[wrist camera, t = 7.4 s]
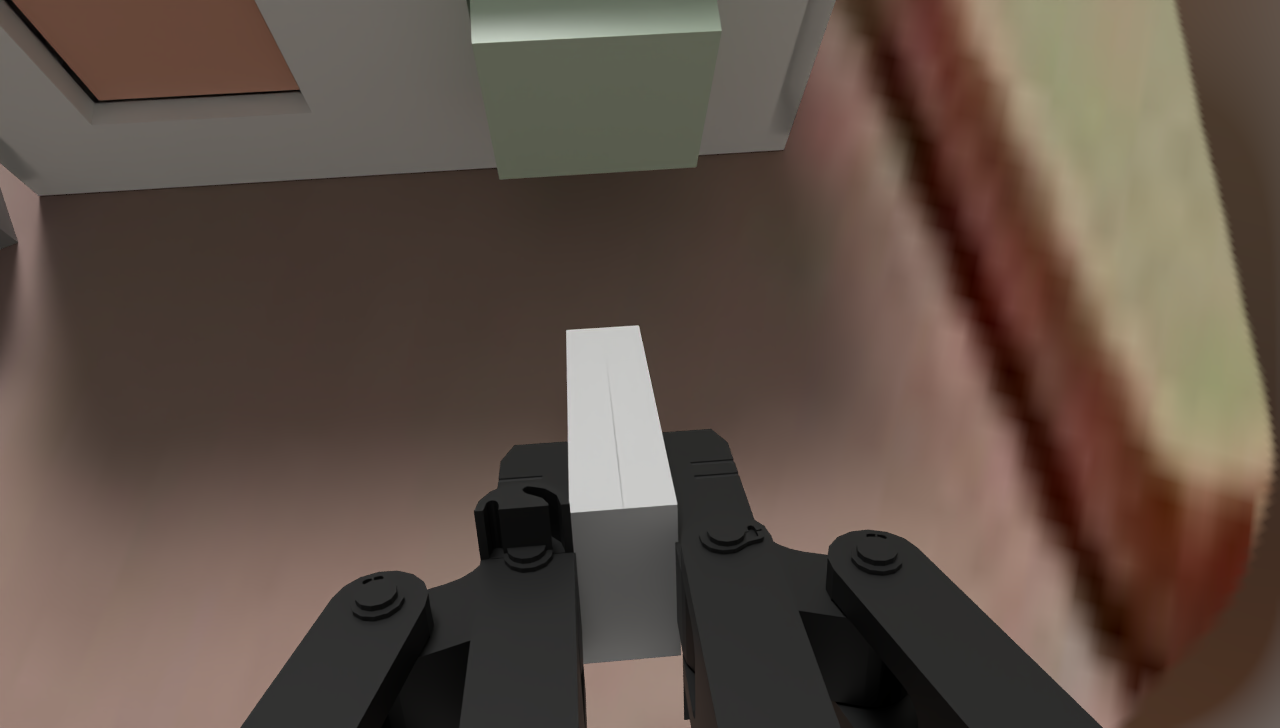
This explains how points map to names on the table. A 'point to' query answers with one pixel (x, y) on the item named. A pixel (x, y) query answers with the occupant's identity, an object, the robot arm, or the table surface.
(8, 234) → the dice cube
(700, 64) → the sage button
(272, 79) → the terracotta button
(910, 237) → the table surface
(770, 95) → the box
